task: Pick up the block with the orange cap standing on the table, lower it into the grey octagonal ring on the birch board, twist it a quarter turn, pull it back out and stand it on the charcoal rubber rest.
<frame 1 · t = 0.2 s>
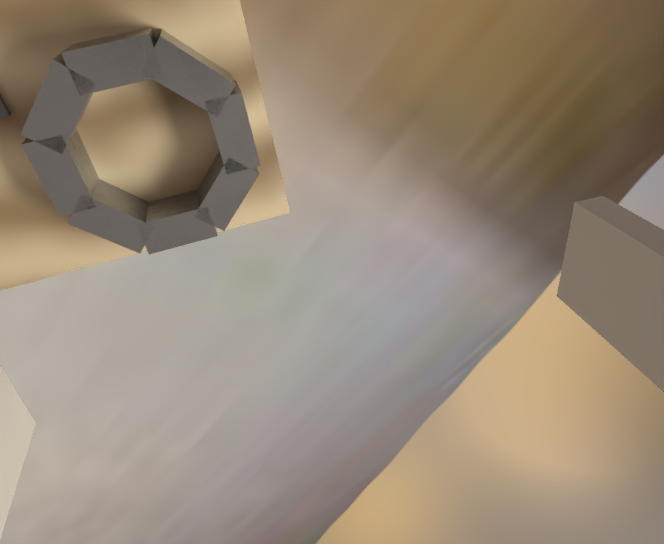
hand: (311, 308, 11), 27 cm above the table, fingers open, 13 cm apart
grey octagonal ring: (151, 139, 34), resting on board
board: (58, 109, 32), on the table
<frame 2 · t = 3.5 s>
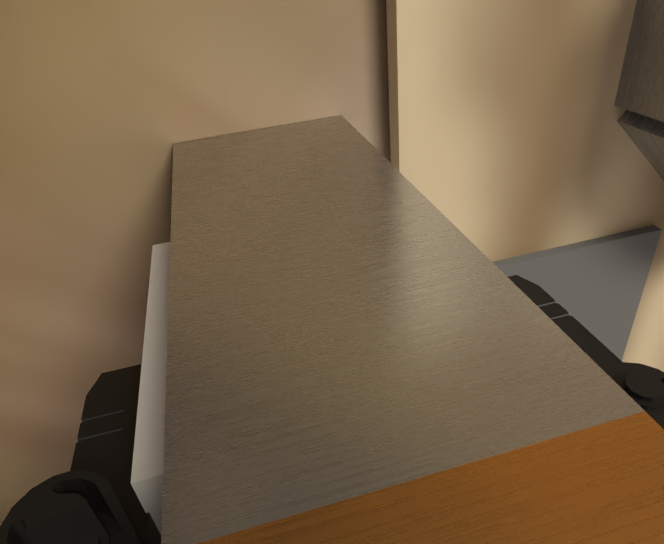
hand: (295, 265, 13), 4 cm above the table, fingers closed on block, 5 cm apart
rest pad: (535, 338, 21), resting on board
block: (273, 206, 16), on the table, touching gripper
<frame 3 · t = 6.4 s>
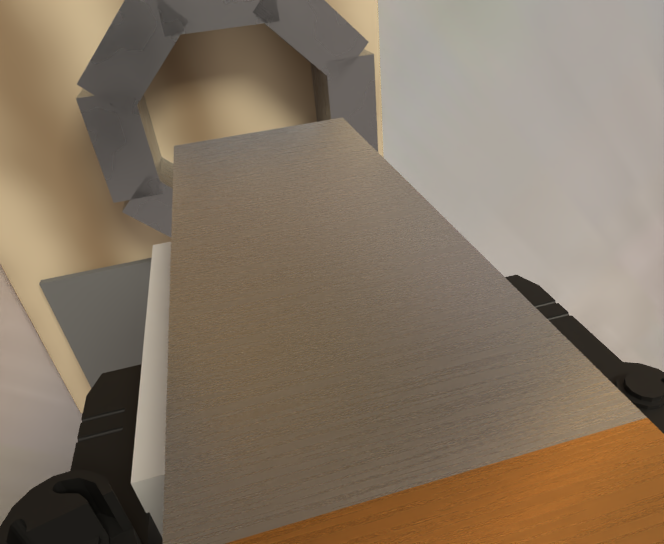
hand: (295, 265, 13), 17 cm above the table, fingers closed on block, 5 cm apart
grey octagonal ring: (235, 110, 26), resting on board
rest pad: (145, 323, 31), resting on board
block: (273, 208, 16), point 13 cm above the table, touching gripper
board: (199, 202, 29), on the table
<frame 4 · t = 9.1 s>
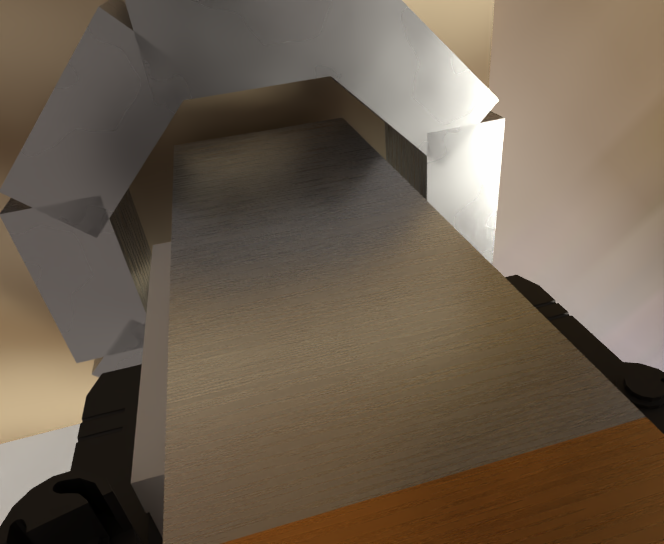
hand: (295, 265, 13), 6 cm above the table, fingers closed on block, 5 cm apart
grey octagonal ring: (268, 195, 17), resting on board
block: (273, 208, 16), point 2 cm above the table, touching gripper
board: (86, 127, 15), on the table
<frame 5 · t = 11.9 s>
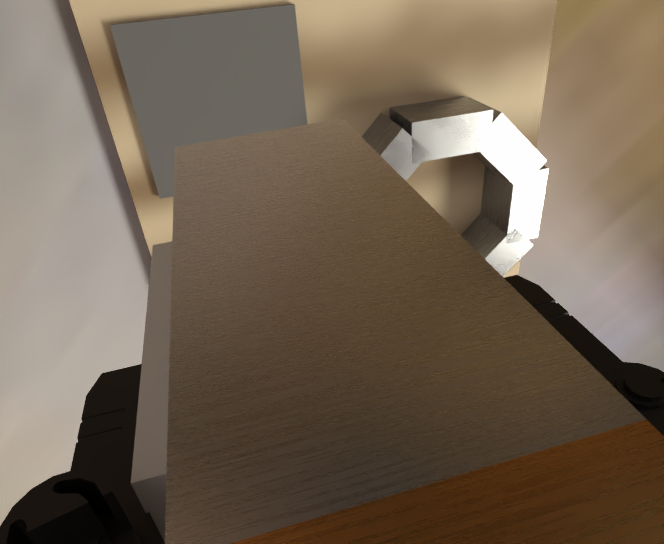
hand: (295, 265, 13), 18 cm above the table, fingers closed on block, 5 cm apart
grey octagonal ring: (424, 201, 34), resting on board
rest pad: (222, 105, 27), resting on board
block: (274, 209, 16), point 15 cm above the table, touching gripper
board: (347, 166, 32), on the table
when the fingers open (6 cm above the table, at t = 14.6 s): block stays where it is, resting on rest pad.
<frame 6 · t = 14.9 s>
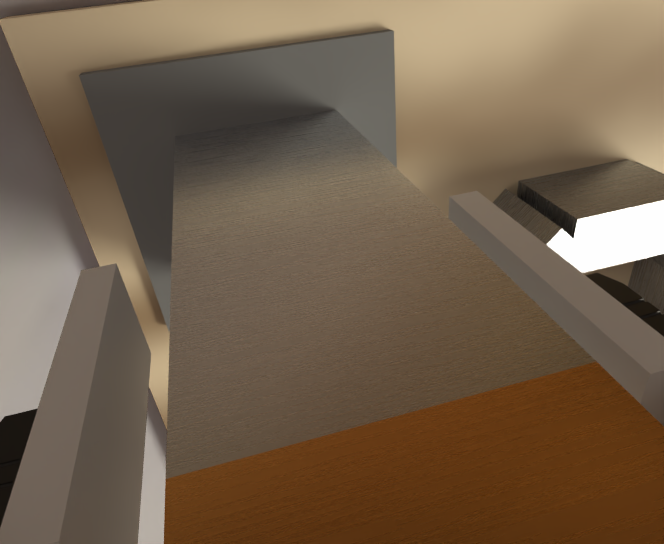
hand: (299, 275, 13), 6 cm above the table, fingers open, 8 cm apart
grey octagonal ring: (549, 302, 23), resting on board
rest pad: (267, 192, 17), resting on board
block: (270, 197, 17), point 1 cm above the table, touching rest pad
board: (444, 261, 22), on the table
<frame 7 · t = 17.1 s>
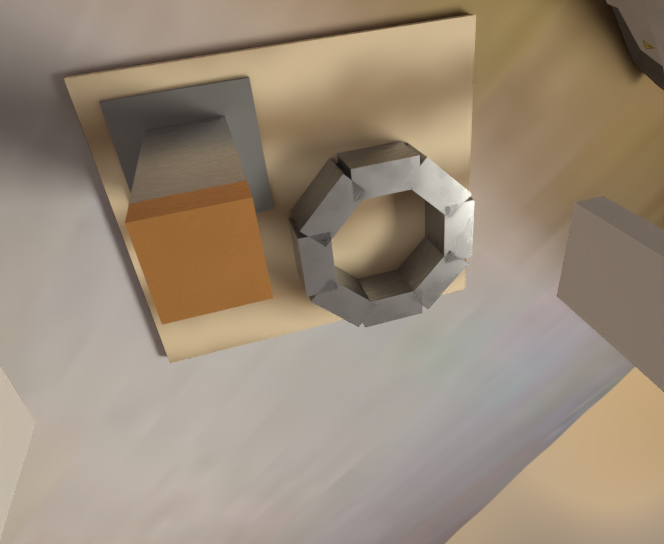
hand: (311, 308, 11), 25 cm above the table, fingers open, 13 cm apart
grey octagonal ring: (374, 228, 39), resting on board
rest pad: (194, 159, 33), resting on board
block: (195, 161, 33), point 1 cm above the table, touching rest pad
board: (305, 202, 38), on the table
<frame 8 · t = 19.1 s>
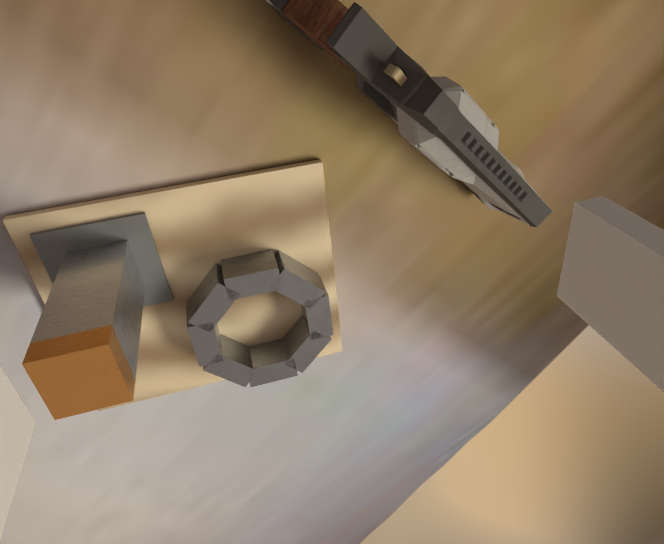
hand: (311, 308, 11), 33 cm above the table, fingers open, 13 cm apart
grey octagonal ring: (258, 310, 50), resting on board
gun: (402, 100, 44), on the table
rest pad: (107, 268, 44), resting on board
block: (106, 270, 43), point 1 cm above the table, touching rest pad
board: (201, 292, 48), on the table
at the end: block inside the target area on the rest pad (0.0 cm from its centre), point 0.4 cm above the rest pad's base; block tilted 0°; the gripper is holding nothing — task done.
